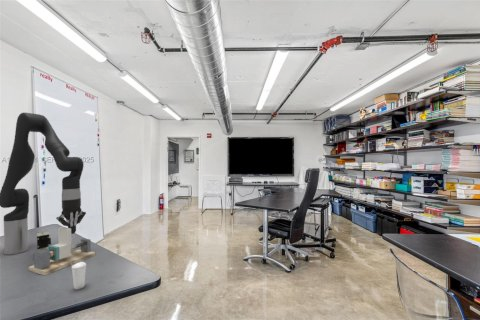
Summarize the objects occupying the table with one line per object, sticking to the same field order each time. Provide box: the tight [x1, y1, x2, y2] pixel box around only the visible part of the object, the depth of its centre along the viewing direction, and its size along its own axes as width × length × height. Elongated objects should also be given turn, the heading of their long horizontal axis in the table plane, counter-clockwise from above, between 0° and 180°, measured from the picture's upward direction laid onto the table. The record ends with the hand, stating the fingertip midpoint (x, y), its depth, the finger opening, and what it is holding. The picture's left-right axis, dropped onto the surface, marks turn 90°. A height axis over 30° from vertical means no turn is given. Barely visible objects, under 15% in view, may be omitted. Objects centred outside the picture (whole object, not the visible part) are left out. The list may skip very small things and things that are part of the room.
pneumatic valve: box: [35, 230, 52, 250], centre depth 121 cm, size 6×12×12 cm, turn 42°
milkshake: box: [70, 261, 87, 290], centre depth 88 cm, size 4×5×10 cm
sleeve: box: [52, 226, 73, 259], centre depth 110 cm, size 5×7×13 cm
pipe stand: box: [28, 238, 96, 276], centre depth 111 cm, size 22×12×8 cm, turn 157°
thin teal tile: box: [47, 244, 59, 261], centre depth 107 cm, size 1×6×6 cm, turn 67°
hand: (72, 233), depth 114 cm, fingers closed
